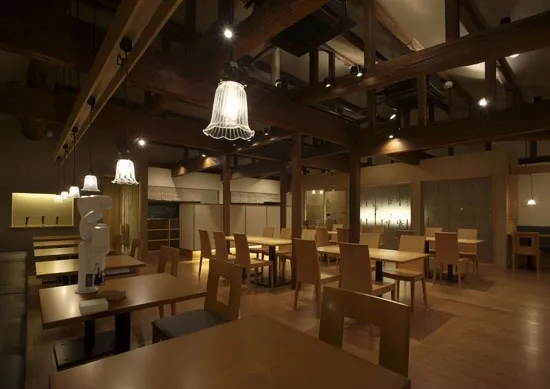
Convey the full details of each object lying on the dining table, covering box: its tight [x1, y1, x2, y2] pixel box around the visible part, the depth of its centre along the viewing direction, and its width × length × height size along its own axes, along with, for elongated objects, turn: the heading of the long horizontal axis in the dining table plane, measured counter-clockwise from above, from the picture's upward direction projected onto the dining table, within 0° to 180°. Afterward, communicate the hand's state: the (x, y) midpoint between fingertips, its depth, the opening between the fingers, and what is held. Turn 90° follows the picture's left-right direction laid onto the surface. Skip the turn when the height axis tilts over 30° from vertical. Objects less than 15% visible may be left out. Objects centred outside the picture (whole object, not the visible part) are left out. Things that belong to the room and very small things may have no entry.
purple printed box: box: [85, 272, 106, 287], centre depth 166 cm, size 7×5×9 cm
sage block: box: [78, 298, 109, 315], centre depth 161 cm, size 10×12×4 cm
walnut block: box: [95, 289, 127, 302], centre depth 180 cm, size 10×12×4 cm
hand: (98, 283), depth 166 cm, fingers closed on purple printed box, 4 cm apart
